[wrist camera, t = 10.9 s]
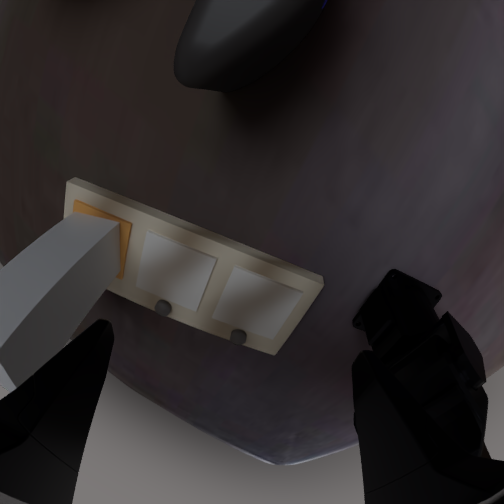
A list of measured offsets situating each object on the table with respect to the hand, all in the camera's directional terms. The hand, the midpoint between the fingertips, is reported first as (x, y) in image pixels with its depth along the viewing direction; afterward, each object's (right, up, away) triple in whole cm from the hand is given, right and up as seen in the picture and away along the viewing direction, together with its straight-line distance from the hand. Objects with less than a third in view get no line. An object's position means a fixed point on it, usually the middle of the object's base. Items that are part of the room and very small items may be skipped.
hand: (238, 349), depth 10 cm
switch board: (-6, +2, +14) cm, 16 cm away
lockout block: (-12, +4, +12) cm, 18 cm away
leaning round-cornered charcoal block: (+2, +20, +4) cm, 21 cm away
